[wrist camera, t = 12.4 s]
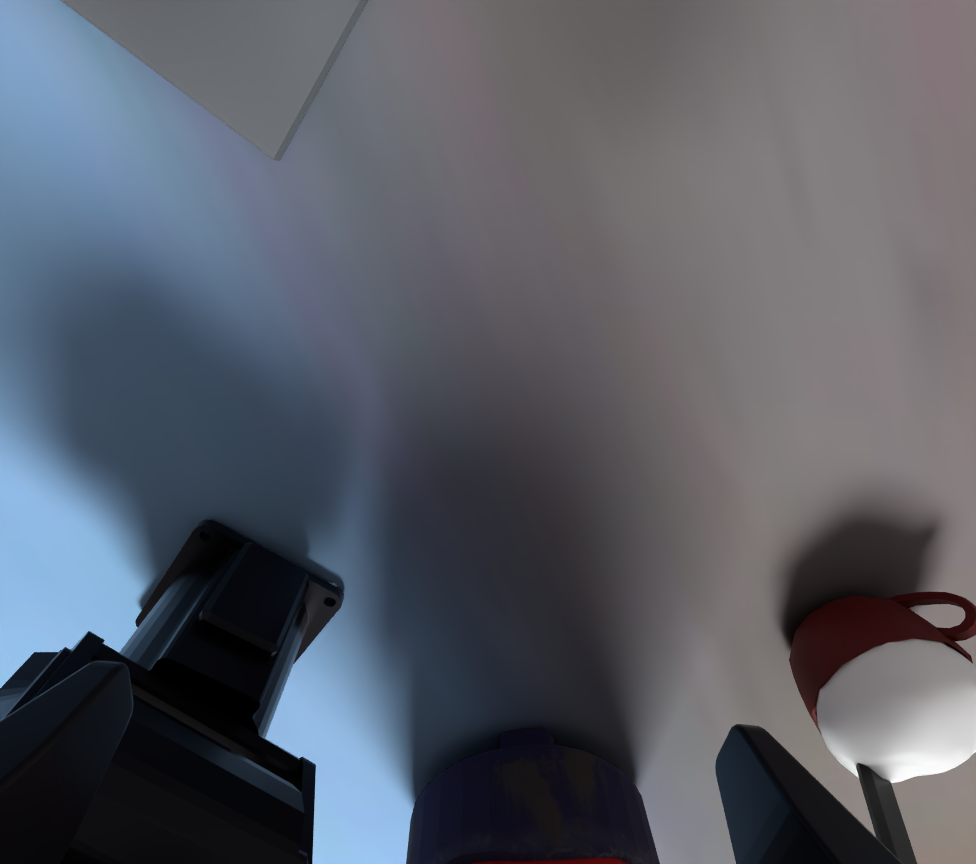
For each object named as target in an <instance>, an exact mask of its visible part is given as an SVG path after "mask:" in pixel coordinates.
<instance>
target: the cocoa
mask: <svg viewBox="0 0 976 864" xmlns="http://www.w3.org/2000/svg"><path fill="white" fill-rule="evenodd" d="M931 604H951V605H956V606H959V607H962V608H963V609H964V611H965V619H964V621H963V622H962V623H961V624H960V625H958V626H955V627H952V628H936V627H935V626H934V625H932V624H931V623H929V622H928V621H926V620H925V619H923V618H922V617H920V616H919V615H917V614H916V613H914V612H913V611H911V610H910V609H908V608H910V607H913V606H917V605H931ZM975 635H976V606H975V605H974V604H972V603H971V602H970V601H968V600H967V599H966V598H963V597H961V596H958V595H955V594H951V593H947V592H917V593H911V594H905V595H898V596H894V597H891V598H889V599H881V598H873V597H865V596H857V595H855V596H850V597H846V598H842V599H837V600H833V601H830V602H828V603H827V604H825V605H823V606H822V607H820V608H818V609H817V610H815V611H813V612H811V613H810V614H809V615H808V616H807V617H806V618H805V620H804V621H803V622H802V623H801V625H800V626H799V627H798V628H797V629H796V631H795V635H794V640H793V644H792V649H791V654H790V658H789V662H790V665H791V669H792V673H793V676H794V679H795V682H796V684H797V687H798V690H799V692H800V694H801V697H802V699H803V701H804V703H805V706H806V708H807V710H808V712H809V714H810V716H811V717H812V719H813V721H814V723H815V725H816V726H817V728H818V730H819V731H820V733H821V735H822V736H823V738H824V741H825V743H826V745H827V747H828V749H829V750H830V751H831V753H832V754H833V755H834V756H835V757H836V759H837V760H838V761H839V762H840V763H841V764H842V765H843V766H845V767H846V768H847V769H848V770H850V771H851V772H852V773H853V774H855V775H856V776H857V777H858V778H859V779H860V783H861V786H862V789H863V793H864V796H865V800H866V803H867V807H868V810H869V814H870V817H871V820H872V824H873V827H874V831H875V834H876V838H877V839H878V840H879V841H880V842H881V843H882V844H883V845H884V846H885V847H886V848H887V849H888V850H889V851H890V852H891V853H892V854H893V855H895V856H896V857H897V858H898V859H899V860H900V861H901V862H902V863H903V864H917V862H916V859H915V856H914V852H913V849H912V846H911V843H910V840H909V837H908V834H907V831H906V828H905V825H904V822H903V819H902V816H901V813H900V810H899V807H898V803H897V800H896V797H895V794H894V791H893V788H892V785H891V783H894V782H901V781H903V780H906V779H909V778H912V777H915V776H922V775H932V774H937V773H943V772H945V771H948V770H950V769H953V768H955V767H957V766H958V765H960V764H961V763H963V762H965V761H966V760H967V759H968V758H969V757H970V756H971V755H972V754H973V753H975V752H976V666H975V665H974V664H973V662H972V658H971V655H969V654H968V653H967V652H966V651H965V650H964V649H963V648H962V647H961V646H959V645H958V644H957V643H956V642H955V641H961V640H966V639H968V638H971V637H973V636H975Z"/></svg>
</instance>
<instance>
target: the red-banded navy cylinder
mask: <svg viewBox="0 0 976 864" xmlns="http://www.w3.org/2000/svg"><path fill="white" fill-rule="evenodd" d="M500 741H501V748H500V749H494V750H489V751H486V752H483V753H480V754H477V755H475V756H472V757H469V758H466V759H463V760H462V761H460V762H458V763H456V764H455V765H453V766H451V767H449V768H448V769H446V770H444V771H443V772H441V773H440V774H439V775H438V776H437V777H436V778H435V779H433V780H432V781H431V782H430V783H429V784H428V785H427V786H426V787H425V788H424V790H423V791H422V793H421V794H420V796H419V797H418V799H417V801H416V802H415V805H414V809H413V813H412V817H411V822H410V832H409V842H408V852H407V862H406V864H660V863H659V859H658V855H657V852H656V848H655V844H654V841H653V837H652V833H651V830H650V826H649V822H648V818H647V815H646V811H645V807H644V804H643V800H642V796H641V794H640V793H639V791H638V789H637V788H636V786H635V784H634V783H633V781H632V780H631V779H630V778H629V777H628V776H627V775H625V774H624V773H623V772H622V771H621V770H620V769H619V768H618V767H616V766H615V765H613V764H611V763H609V762H607V761H605V760H604V759H602V758H600V757H598V756H596V755H594V754H592V753H589V752H586V751H582V750H579V749H576V748H573V747H566V746H559V745H554V739H553V738H552V737H551V735H550V734H549V732H548V731H547V730H546V729H545V728H535V729H519V730H514V731H509V732H505V733H503V734H501V735H500Z"/></svg>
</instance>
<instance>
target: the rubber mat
mask: <svg viewBox="0 0 976 864" xmlns="http://www.w3.org/2000/svg"><path fill="white" fill-rule="evenodd" d="M61 1H62V2H63V3H65V4H66V5H67V6H69V7H70V8H71V9H73V10H74V11H75V12H77V13H78V14H79V15H81V16H82V17H83V18H85V19H86V20H87V21H89V22H90V23H91V24H93V25H94V26H95V27H97V28H98V29H99V30H101V31H102V32H103V33H105V34H106V35H107V36H109V37H110V38H111V39H113V40H114V41H115V42H117V43H118V44H119V45H121V46H122V47H123V48H125V49H126V50H127V51H129V52H130V53H131V54H133V55H134V56H135V57H137V58H138V59H139V60H141V61H142V62H143V63H145V64H146V65H147V66H149V67H150V68H151V69H153V70H154V71H155V72H157V73H158V74H159V75H161V76H162V77H163V78H165V79H166V80H167V81H169V82H170V83H171V84H173V85H174V86H175V87H177V88H178V89H179V90H181V91H182V92H183V93H185V94H186V95H187V96H189V97H190V98H191V99H193V100H194V101H195V102H197V103H198V104H199V105H201V106H202V107H203V108H205V109H206V110H207V111H209V112H210V113H211V114H213V115H214V116H215V117H217V118H218V119H219V120H221V121H222V122H223V123H225V124H226V125H227V126H229V127H230V128H231V129H233V130H234V131H235V132H237V133H238V134H239V135H241V136H242V137H243V138H245V139H246V140H247V141H249V142H250V143H251V144H253V145H254V146H255V147H257V148H258V149H259V150H261V151H262V152H263V153H265V154H266V155H267V156H269V157H270V158H271V159H273V160H279V161H280V159H281V157H282V155H283V153H284V152H285V150H286V148H287V146H288V144H289V143H290V141H291V139H292V137H293V135H294V133H295V132H296V130H297V128H298V126H299V124H300V123H301V121H302V119H303V117H304V115H305V113H306V112H307V110H308V108H309V106H310V104H311V103H312V101H313V99H314V97H315V95H316V93H317V92H318V90H319V88H320V86H321V84H322V83H323V81H324V79H325V77H326V75H327V73H328V72H329V70H330V68H331V66H332V64H333V63H334V61H335V59H336V57H337V55H338V53H339V52H340V50H341V48H342V46H343V44H344V43H345V41H346V39H347V37H348V35H349V33H350V32H351V30H352V28H353V26H354V24H355V23H356V21H357V19H358V17H359V15H360V13H361V12H362V10H363V8H364V6H365V4H366V3H367V1H368V0H61Z"/></svg>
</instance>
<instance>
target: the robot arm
mask: <svg viewBox="0 0 976 864" xmlns="http://www.w3.org/2000/svg"><path fill="white" fill-rule="evenodd" d="M205 531H209V532H210V533H212V535H213V536H211V535H208V534H206V533H205ZM327 597H331V598H334V599H335V600H329V599H328V598H327ZM343 599H344V594H343V592H342V590H340V589H339V588H338V587H336V586H334V585H332V584H330V583H328V582H327V581H325V580H323V579H321V578H319V577H317V576H316V575H314V574H312V573H310V572H308V571H306V570H305V569H303V568H301V567H299V566H297V565H295V564H293V563H292V562H290V561H288V560H286V559H284V558H282V557H281V556H279V555H277V554H275V553H273V552H271V551H270V550H268V549H266V548H264V547H262V546H260V545H259V544H257V543H255V542H253V541H251V540H249V539H248V538H246V537H244V536H242V535H240V534H238V533H237V532H235V531H233V530H231V529H229V528H227V527H225V526H224V525H222V524H220V523H218V522H216V521H213V520H204V521H202V522H200V523H199V524H198V526H197V527H196V528H195V529H194V531H193V532H192V534H191V535H190V537H189V539H188V540H187V542H186V543H185V545H184V546H183V548H182V549H181V551H180V552H179V554H178V556H177V557H176V559H175V560H174V562H173V563H172V565H171V566H170V568H169V569H168V571H167V572H166V574H165V576H164V577H163V579H162V580H161V582H160V583H159V585H158V586H157V588H156V589H155V591H154V593H153V594H152V596H151V597H150V599H149V600H148V602H147V603H146V605H145V606H144V608H143V609H142V611H141V613H140V614H139V616H138V617H137V619H136V626H137V627H138V628H137V630H136V631H135V632H134V634H133V635H132V636H131V638H130V639H129V640H128V642H127V643H126V644H125V646H124V647H123V648H122V650H121V651H120V652H119V653H118V652H117V651H115V650H113V649H112V648H110V647H108V646H107V645H105V644H103V642H104V641H105V640H103V639H102V638H100V637H98V636H97V635H95V634H93V633H91V632H90V631H88V632H87V633H86V634H85V636H84V637H83V638H82V639H81V640H80V641H79V642H78V643H77V644H76V645H75V646H74V647H73V648H72V649H71V650H70V649H68V648H66V647H65V648H64V649H63V650H60V651H59V652H34V653H33V654H32V655H31V656H30V657H29V659H28V660H27V661H26V662H25V663H24V664H23V665H22V666H21V667H20V668H19V669H18V670H17V671H16V672H15V673H14V675H13V676H12V677H11V678H10V679H9V680H8V681H7V682H6V683H5V684H4V685H3V686H2V687H1V688H0V864H312V854H313V826H314V799H315V771H316V765H315V764H314V763H312V762H311V761H309V760H307V759H305V758H304V757H301V758H297V757H296V756H294V755H292V754H291V753H289V752H287V751H286V750H284V749H282V748H280V747H279V746H277V745H275V744H274V743H272V742H270V741H268V740H267V739H265V737H266V735H267V732H268V729H269V727H270V724H271V721H272V719H273V716H274V713H275V711H276V708H277V705H278V703H279V700H280V698H281V695H282V692H283V690H284V687H285V684H286V682H287V679H288V676H289V674H290V671H291V668H292V666H293V664H294V663H295V662H296V661H297V659H298V658H299V657H300V656H301V655H302V653H303V652H304V651H305V650H306V649H307V647H308V646H309V645H310V644H311V642H312V641H313V640H314V639H315V638H316V636H317V635H318V634H319V633H320V632H321V630H322V629H323V628H324V627H325V625H326V624H327V623H328V622H329V621H330V619H331V618H332V617H333V616H334V615H335V613H336V612H337V611H338V610H339V609H340V607H341V605H342V602H343ZM716 776H717V781H718V785H719V790H720V794H721V799H722V803H723V807H724V812H725V816H726V820H727V825H728V829H729V834H730V838H731V842H732V847H733V851H734V856H735V860H736V864H903V863H902V862H901V861H900V860H899V859H898V858H897V857H896V856H895V855H893V854H892V853H891V852H890V851H889V850H888V849H887V848H886V847H885V846H884V845H883V844H882V843H881V842H880V841H879V840H878V839H877V838H876V837H875V836H874V835H873V834H872V833H871V832H870V831H869V830H868V829H867V828H866V827H865V826H864V825H863V824H862V823H861V822H860V821H859V820H858V819H857V818H855V817H854V816H853V815H852V814H851V813H850V812H849V811H848V810H847V809H846V808H845V807H844V806H843V805H842V804H841V803H840V802H839V801H838V800H837V799H836V798H835V797H834V796H833V795H832V794H831V793H830V792H829V791H828V790H827V789H826V788H825V787H824V786H823V785H822V784H821V783H820V782H819V781H817V780H816V779H815V778H814V777H813V776H812V775H811V774H810V773H809V772H808V771H807V770H806V769H805V768H804V767H803V766H802V765H801V764H800V763H799V762H798V761H797V760H796V759H795V758H794V757H793V756H792V755H791V754H790V753H789V752H788V751H787V750H786V749H785V748H784V747H783V746H782V745H781V744H779V743H778V742H777V741H776V740H775V739H774V738H773V737H772V736H771V735H770V734H769V733H768V732H767V731H766V730H765V729H763V728H761V727H759V726H753V725H743V724H736V725H735V726H733V727H732V728H731V730H730V732H729V734H728V736H727V738H726V740H725V742H724V744H723V746H722V748H721V750H720V752H719V754H718V756H717V759H716Z"/></svg>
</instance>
